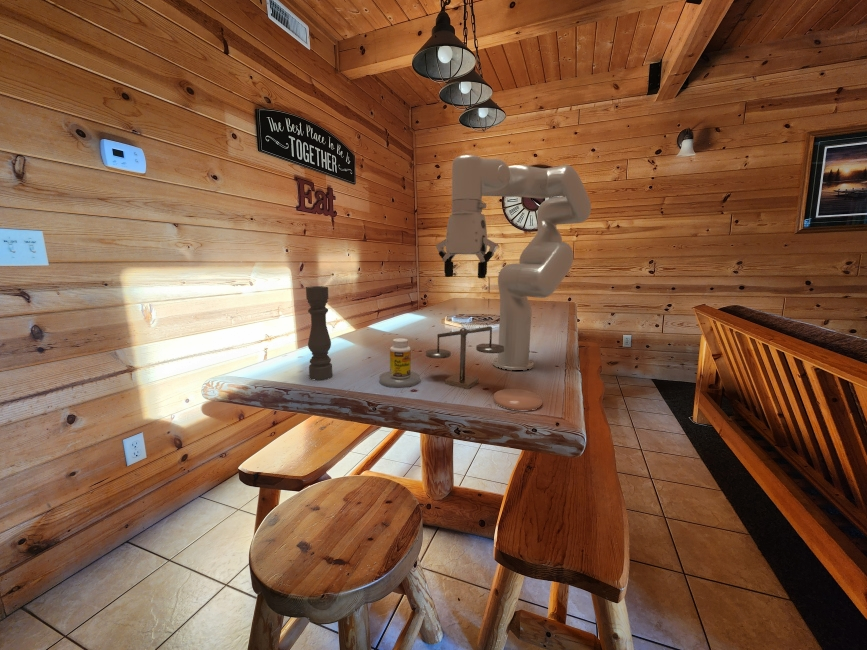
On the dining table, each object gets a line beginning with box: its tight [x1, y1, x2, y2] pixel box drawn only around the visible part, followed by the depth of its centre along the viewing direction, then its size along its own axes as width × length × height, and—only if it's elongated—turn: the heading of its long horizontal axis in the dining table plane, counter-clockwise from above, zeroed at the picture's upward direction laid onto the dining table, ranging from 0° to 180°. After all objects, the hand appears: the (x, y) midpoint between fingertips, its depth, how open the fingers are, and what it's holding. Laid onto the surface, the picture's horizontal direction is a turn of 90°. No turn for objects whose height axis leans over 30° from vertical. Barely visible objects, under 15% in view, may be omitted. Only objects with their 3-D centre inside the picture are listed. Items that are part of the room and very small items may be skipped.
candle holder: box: [305, 285, 333, 381], centre depth 100 cm, size 6×6×25 cm
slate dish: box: [378, 370, 421, 389], centre depth 100 cm, size 11×11×1 cm
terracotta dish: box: [493, 388, 543, 410], centre depth 86 cm, size 11×11×1 cm
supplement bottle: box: [389, 337, 412, 379], centre depth 99 cm, size 6×6×10 cm
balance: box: [425, 325, 504, 390], centre depth 97 cm, size 7×22×16 cm, turn 57°
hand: (464, 277), depth 96 cm, fingers open, 9 cm apart
